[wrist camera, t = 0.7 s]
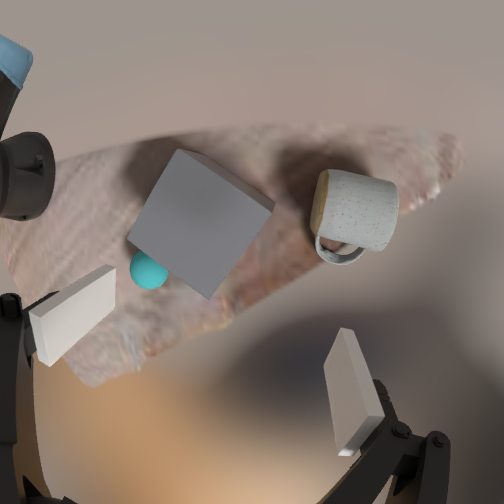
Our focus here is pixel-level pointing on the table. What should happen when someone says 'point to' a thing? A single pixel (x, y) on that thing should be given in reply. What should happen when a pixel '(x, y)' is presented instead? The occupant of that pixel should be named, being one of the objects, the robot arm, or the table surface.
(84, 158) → the table surface
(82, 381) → the table surface
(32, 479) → the robot arm
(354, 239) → the ceramic mug
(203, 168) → the grey cube
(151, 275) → the ball
